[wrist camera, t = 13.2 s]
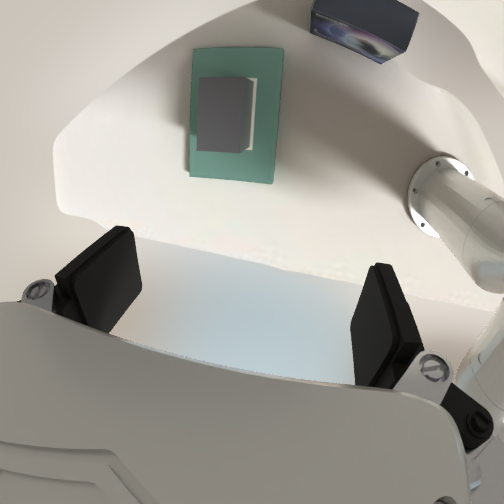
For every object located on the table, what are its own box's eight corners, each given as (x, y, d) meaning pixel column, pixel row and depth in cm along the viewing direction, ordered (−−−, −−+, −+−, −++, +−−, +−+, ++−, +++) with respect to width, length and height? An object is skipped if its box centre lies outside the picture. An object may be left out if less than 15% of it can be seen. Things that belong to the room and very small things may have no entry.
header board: (283, 50, 30) (282, 48, 28) (273, 181, 39) (271, 184, 38) (197, 51, 31) (193, 49, 30) (193, 174, 41) (189, 176, 39)
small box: (307, 35, 28) (307, 10, 19) (322, 0, 25) (326, -32, 16) (381, 67, 28) (406, 54, 19) (394, 32, 25) (421, 11, 16)
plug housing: (253, 81, 31) (244, 76, 26) (249, 146, 36) (239, 153, 30) (215, 81, 32) (199, 77, 27) (212, 144, 36) (196, 150, 31)
